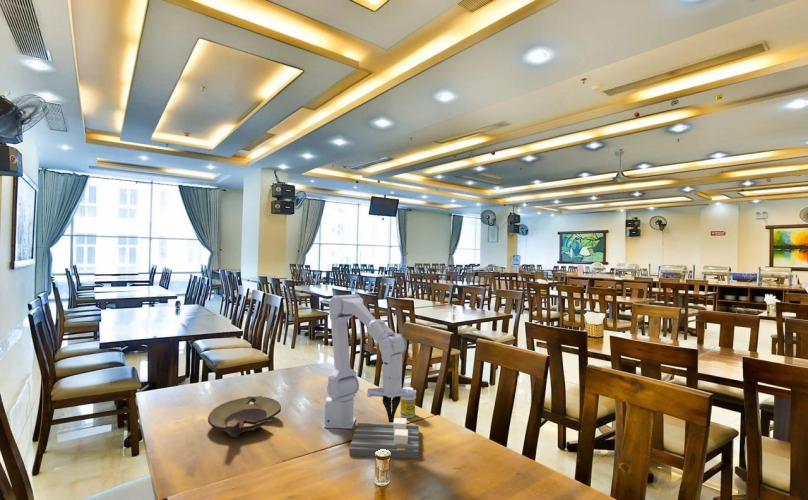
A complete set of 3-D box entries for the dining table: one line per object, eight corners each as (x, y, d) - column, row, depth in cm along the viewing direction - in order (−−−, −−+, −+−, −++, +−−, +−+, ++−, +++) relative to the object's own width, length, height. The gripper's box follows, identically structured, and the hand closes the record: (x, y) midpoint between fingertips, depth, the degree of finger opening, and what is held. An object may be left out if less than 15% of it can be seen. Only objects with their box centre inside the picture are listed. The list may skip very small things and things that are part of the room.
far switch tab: (393, 432, 125) (393, 423, 125) (394, 427, 129) (394, 417, 129) (405, 433, 124) (406, 423, 124) (406, 427, 128) (406, 418, 128)
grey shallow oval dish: (293, 414, 142) (294, 392, 142) (238, 455, 113) (239, 429, 113) (240, 406, 148) (240, 386, 148) (174, 444, 119) (175, 419, 119)
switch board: (349, 455, 115) (349, 445, 115) (358, 428, 132) (358, 420, 132) (418, 458, 114) (418, 448, 114) (418, 431, 131) (418, 422, 131)
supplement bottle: (409, 411, 147) (410, 385, 147) (417, 416, 143) (418, 389, 143) (397, 414, 144) (397, 387, 144) (405, 419, 140) (406, 392, 140)
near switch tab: (393, 445, 117) (394, 435, 117) (394, 438, 121) (394, 429, 121) (407, 446, 116) (407, 435, 116) (407, 439, 120) (408, 429, 120)
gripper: (366, 379, 115) (365, 425, 115) (416, 381, 114) (415, 428, 114) (369, 371, 122) (368, 415, 122) (416, 373, 121) (415, 417, 121)
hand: (391, 421), depth 119 cm, fingers closed
